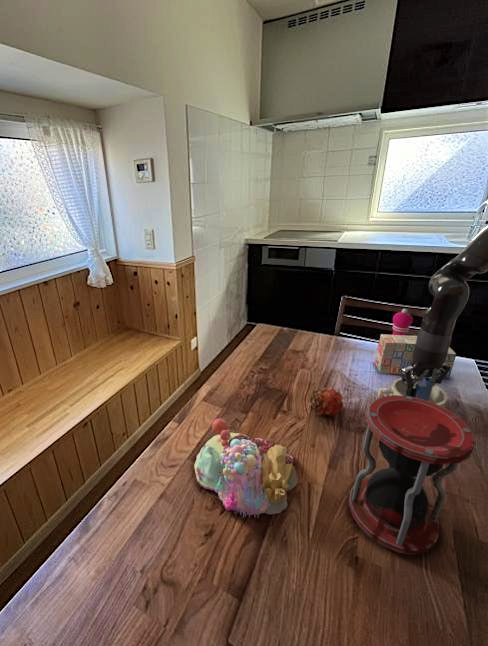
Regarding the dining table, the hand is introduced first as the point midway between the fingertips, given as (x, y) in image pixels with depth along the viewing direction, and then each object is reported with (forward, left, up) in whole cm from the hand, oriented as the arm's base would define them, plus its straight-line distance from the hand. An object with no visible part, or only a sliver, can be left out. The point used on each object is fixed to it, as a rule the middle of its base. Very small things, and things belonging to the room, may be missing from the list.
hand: (417, 395), depth 99 cm
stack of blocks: (-5, -20, -4) cm, 21 cm away
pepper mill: (-2, -28, -4) cm, 28 cm away
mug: (+2, 0, -4) cm, 4 cm away
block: (0, 0, -3) cm, 3 cm away
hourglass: (+17, +39, -4) cm, 43 cm away
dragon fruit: (+26, +7, -4) cm, 27 cm away
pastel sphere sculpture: (+48, +34, -4) cm, 59 cm away
